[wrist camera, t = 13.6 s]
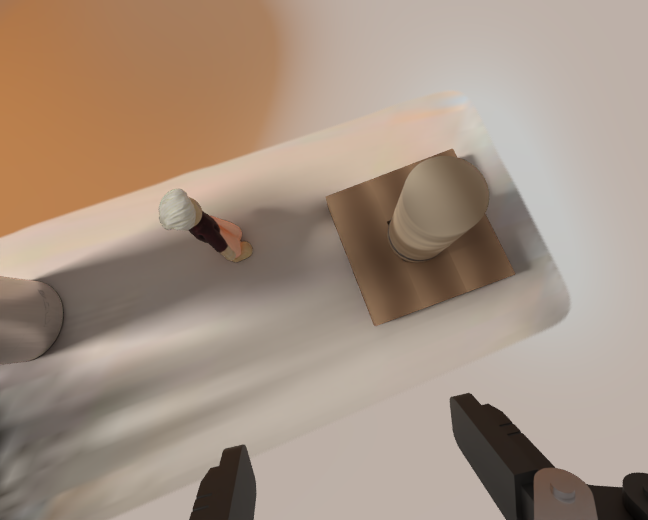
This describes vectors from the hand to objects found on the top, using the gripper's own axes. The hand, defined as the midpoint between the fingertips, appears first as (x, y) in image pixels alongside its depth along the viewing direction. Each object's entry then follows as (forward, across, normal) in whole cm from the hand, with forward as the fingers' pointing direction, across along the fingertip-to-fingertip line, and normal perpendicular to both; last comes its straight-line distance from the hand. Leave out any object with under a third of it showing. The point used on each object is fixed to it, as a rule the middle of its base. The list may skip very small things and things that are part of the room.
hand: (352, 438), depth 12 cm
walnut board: (+23, -11, -2) cm, 26 cm away
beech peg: (+22, -11, -2) cm, 25 cm away
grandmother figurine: (+27, +8, -5) cm, 29 cm away
